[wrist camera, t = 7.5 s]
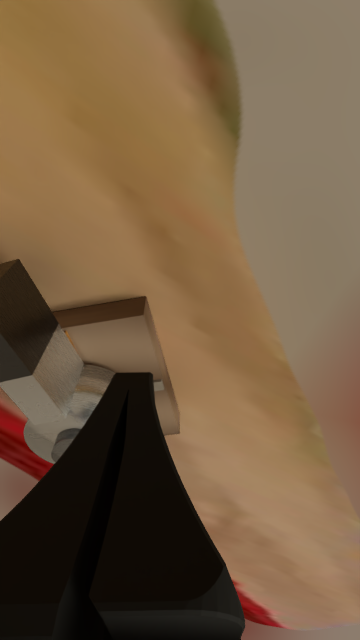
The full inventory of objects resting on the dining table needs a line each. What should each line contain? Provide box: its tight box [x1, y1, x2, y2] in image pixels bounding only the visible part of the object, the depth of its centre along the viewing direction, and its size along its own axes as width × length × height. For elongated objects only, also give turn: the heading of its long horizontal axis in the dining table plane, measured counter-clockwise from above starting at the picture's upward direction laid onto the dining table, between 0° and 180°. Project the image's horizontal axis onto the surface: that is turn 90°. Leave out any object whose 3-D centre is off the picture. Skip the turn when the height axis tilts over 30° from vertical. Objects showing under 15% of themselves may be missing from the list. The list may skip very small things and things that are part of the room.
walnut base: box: [52, 297, 180, 435], centre depth 22 cm, size 11×10×2 cm
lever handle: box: [0, 259, 115, 464], centre depth 17 cm, size 13×6×4 cm, turn 16°
